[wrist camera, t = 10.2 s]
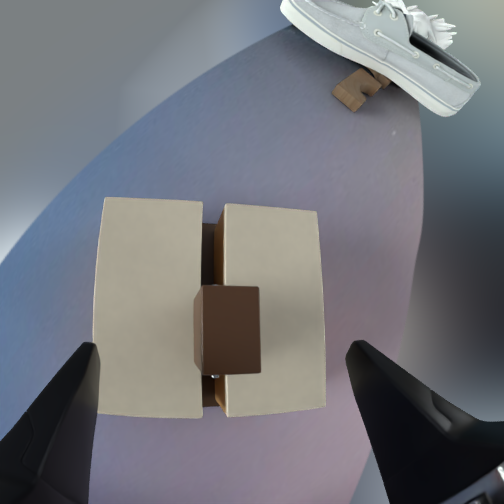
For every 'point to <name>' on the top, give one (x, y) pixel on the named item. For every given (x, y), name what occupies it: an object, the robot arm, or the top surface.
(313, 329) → the beige cardboard box
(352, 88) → the wooden blocks
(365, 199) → the top surface
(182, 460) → the top surface
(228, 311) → the brown wooden block
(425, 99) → the boat shoe
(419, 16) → the white spiky tuft
